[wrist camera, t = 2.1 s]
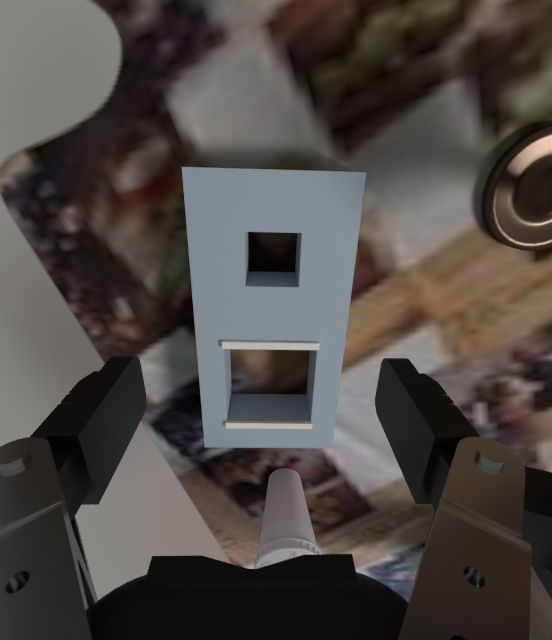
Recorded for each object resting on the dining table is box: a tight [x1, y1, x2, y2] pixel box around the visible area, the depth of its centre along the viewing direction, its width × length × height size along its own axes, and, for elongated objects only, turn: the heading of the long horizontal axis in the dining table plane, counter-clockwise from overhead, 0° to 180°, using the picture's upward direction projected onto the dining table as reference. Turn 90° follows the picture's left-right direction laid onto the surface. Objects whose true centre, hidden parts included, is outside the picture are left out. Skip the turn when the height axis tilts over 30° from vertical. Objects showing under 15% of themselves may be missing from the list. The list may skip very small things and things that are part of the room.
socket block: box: [182, 167, 367, 448], centre depth 28 cm, size 12×24×4 cm, turn 179°
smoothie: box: [254, 468, 322, 569], centre depth 33 cm, size 6×6×14 cm
